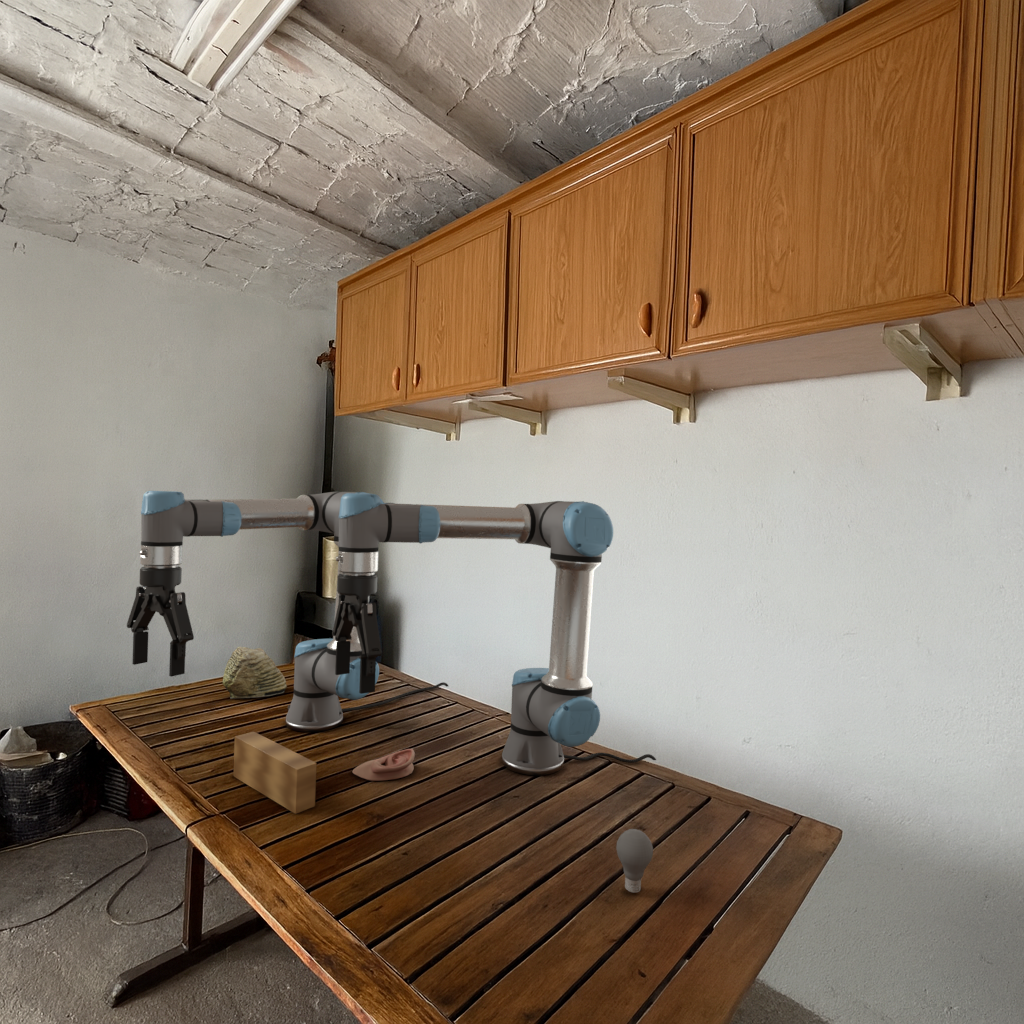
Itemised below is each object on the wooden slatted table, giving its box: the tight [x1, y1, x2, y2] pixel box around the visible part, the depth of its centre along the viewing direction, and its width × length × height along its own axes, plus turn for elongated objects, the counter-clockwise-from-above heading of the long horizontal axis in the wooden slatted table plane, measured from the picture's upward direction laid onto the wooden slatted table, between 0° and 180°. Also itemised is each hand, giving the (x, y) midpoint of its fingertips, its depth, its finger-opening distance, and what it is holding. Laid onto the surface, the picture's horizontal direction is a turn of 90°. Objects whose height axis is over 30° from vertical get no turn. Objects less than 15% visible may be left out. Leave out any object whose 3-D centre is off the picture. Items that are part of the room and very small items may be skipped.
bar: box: [232, 731, 317, 815], centre depth 136 cm, size 25×4×9 cm, turn 51°
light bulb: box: [615, 828, 654, 894], centre depth 106 cm, size 6×6×10 cm
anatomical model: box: [352, 748, 416, 782], centre depth 147 cm, size 13×4×12 cm
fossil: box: [222, 646, 288, 699], centre depth 198 cm, size 9×18×15 cm, turn 132°
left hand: (157, 669), depth 130 cm, fingers open, 13 cm apart
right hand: (354, 682), depth 122 cm, fingers open, 13 cm apart
